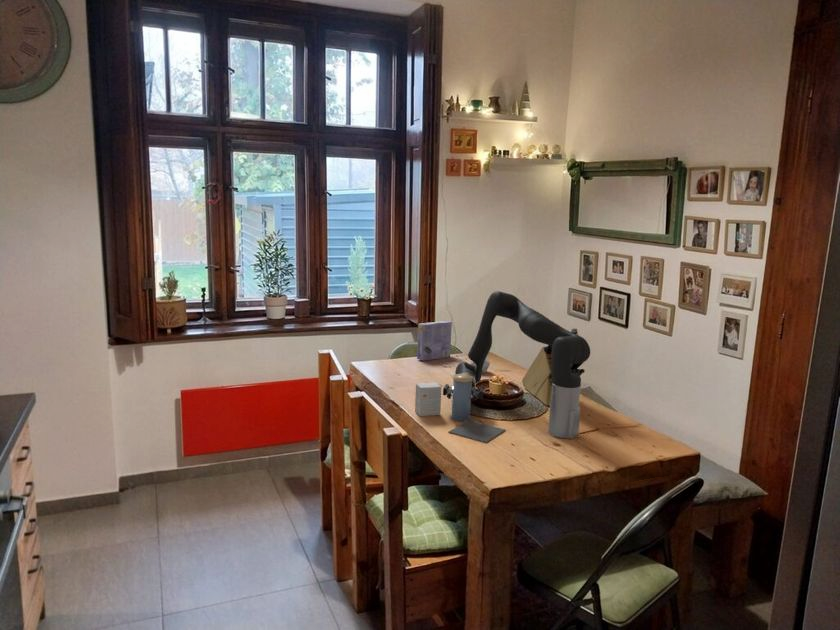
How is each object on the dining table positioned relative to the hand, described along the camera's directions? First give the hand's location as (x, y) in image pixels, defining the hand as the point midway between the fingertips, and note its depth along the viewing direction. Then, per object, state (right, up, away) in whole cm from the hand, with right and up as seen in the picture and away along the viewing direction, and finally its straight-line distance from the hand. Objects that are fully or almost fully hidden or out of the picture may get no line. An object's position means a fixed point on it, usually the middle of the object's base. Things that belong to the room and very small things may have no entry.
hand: (461, 397), depth 219 cm
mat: (+5, -10, -10) cm, 15 cm away
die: (+12, +3, +64) cm, 65 cm away
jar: (0, -8, +3) cm, 8 cm away
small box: (-12, -7, +7) cm, 15 cm away
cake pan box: (-8, +8, +86) cm, 87 cm away
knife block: (+37, -5, +29) cm, 47 cm away
